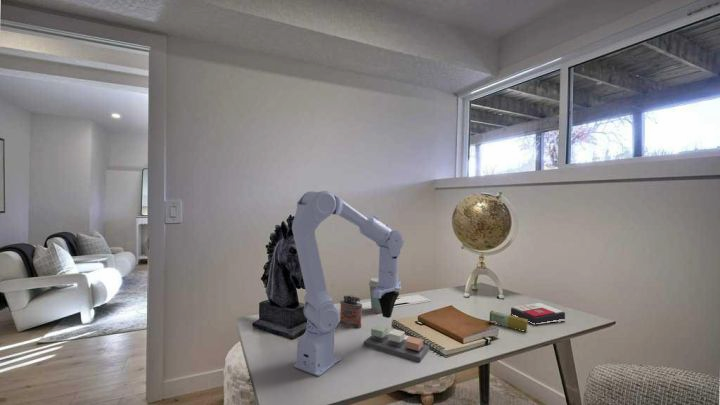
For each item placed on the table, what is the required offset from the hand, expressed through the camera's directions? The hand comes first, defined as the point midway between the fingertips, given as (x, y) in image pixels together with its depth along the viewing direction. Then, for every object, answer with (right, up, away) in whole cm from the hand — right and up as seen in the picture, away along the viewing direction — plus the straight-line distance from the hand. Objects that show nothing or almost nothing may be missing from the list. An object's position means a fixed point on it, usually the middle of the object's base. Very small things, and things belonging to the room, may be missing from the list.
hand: (386, 316), depth 90 cm
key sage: (-2, -6, +1) cm, 6 cm away
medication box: (+44, -10, +17) cm, 48 cm away
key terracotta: (+7, -7, -4) cm, 11 cm away
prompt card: (+6, -9, +5) cm, 11 cm away
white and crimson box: (+59, -11, +26) cm, 66 cm away
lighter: (-11, -8, +14) cm, 20 cm away
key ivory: (+3, -6, -1) cm, 7 cm away
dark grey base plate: (+3, -8, -1) cm, 9 cm away
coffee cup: (0, -9, +29) cm, 30 cm away
